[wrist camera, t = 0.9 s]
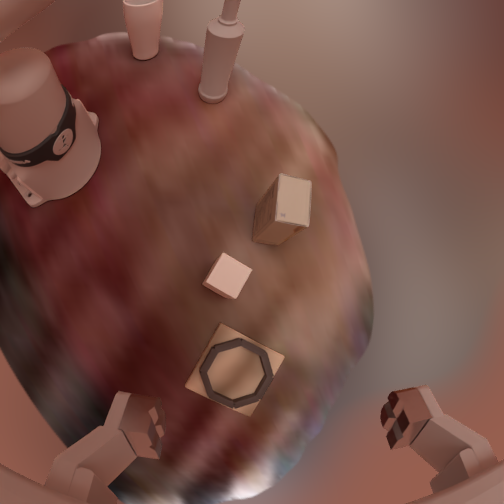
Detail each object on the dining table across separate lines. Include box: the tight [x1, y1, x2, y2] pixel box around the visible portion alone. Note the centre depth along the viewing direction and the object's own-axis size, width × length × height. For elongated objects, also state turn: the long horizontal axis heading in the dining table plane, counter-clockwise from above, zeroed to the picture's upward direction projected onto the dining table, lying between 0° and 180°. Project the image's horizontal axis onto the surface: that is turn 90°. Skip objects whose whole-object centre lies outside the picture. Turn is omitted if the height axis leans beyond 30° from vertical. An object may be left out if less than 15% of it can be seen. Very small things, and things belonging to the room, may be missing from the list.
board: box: [185, 323, 285, 417], centre depth 41 cm, size 11×11×2 cm
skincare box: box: [252, 173, 311, 246], centre depth 41 cm, size 6×4×12 cm
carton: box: [202, 253, 252, 299], centre depth 40 cm, size 4×4×9 cm
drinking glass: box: [123, 0, 163, 60], centre depth 39 cm, size 7×7×15 cm
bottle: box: [198, 0, 245, 104], centre depth 36 cm, size 5×5×25 cm
